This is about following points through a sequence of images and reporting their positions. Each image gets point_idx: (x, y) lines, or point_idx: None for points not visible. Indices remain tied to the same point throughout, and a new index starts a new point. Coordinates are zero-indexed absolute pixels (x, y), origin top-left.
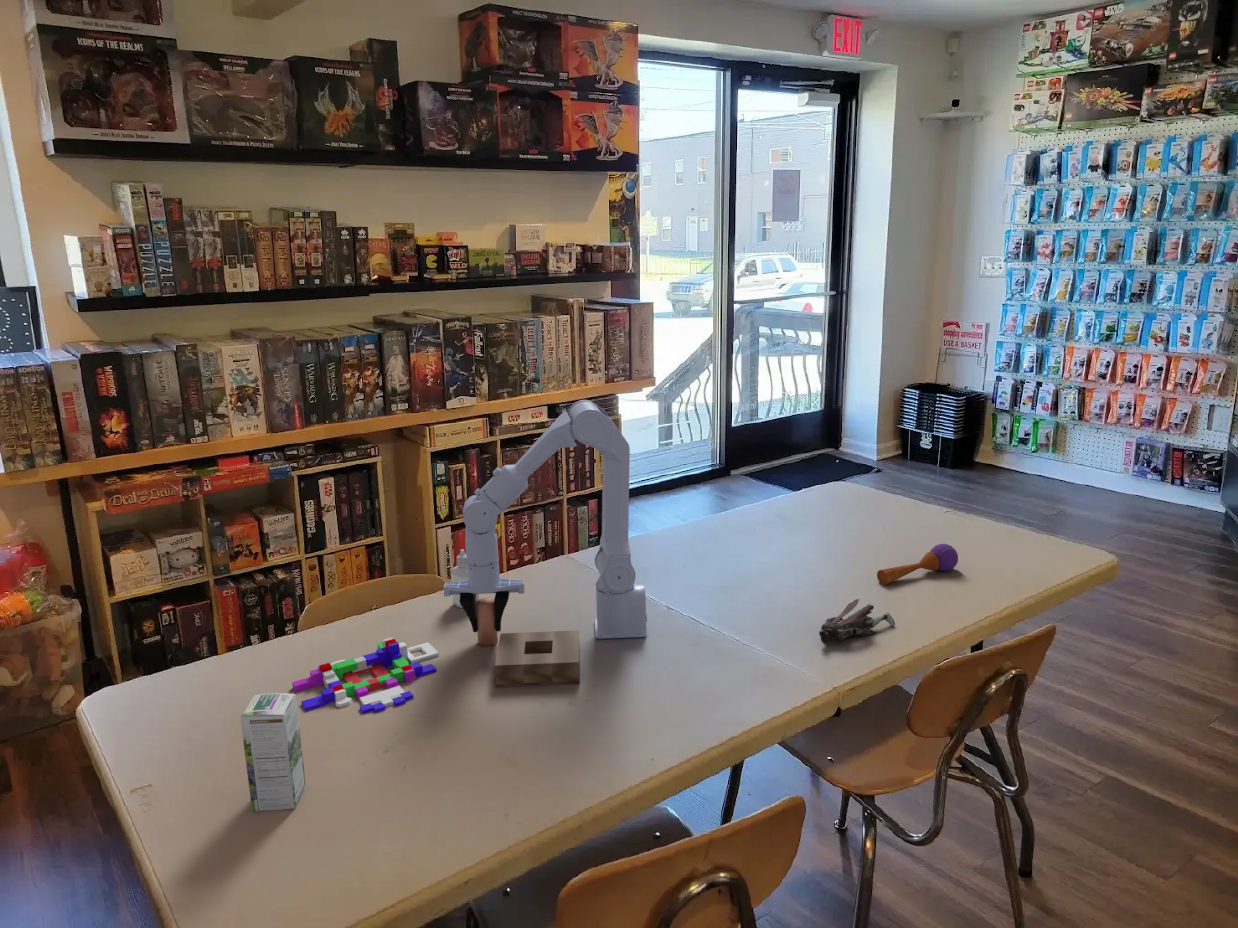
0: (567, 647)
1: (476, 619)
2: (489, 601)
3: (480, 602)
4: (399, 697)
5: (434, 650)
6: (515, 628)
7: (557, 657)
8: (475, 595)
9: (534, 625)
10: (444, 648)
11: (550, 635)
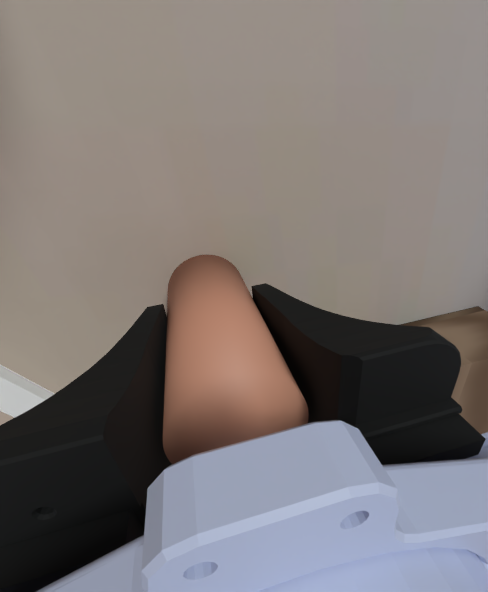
0: (479, 431)
1: (164, 352)
2: (268, 422)
3: (206, 449)
4: None
5: (34, 399)
6: (296, 157)
7: None
8: (131, 419)
9: (375, 120)
10: (55, 356)
11: (456, 387)
